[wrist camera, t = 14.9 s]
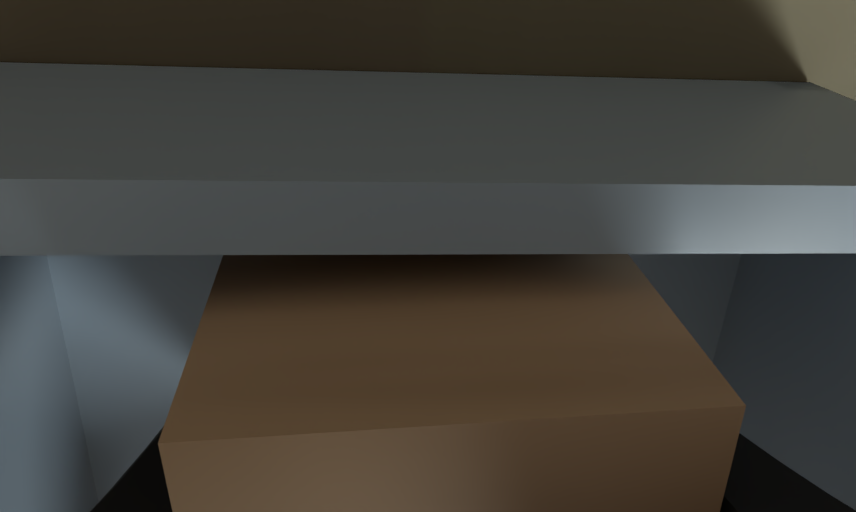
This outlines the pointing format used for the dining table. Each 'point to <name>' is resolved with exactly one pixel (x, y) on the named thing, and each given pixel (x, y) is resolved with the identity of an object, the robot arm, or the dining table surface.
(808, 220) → the tote
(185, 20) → the dining table surface
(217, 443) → the tan cube
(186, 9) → the dining table surface
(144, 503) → the robot arm
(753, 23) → the dining table surface
